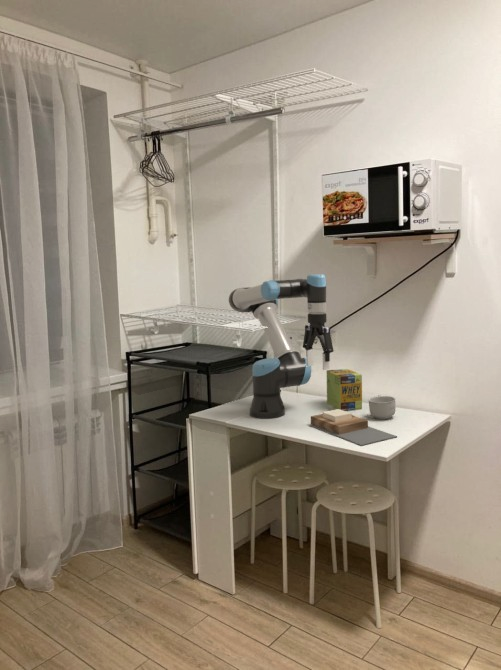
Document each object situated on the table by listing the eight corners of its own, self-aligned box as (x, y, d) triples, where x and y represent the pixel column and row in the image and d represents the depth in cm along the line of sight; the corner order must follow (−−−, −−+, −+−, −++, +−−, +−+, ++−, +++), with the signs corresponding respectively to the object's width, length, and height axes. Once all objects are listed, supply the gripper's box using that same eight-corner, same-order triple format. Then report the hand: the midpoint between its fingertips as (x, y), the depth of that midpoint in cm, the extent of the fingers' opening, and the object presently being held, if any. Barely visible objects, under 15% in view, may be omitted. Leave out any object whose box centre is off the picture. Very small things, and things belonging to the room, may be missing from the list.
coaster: (322, 417, 228) (322, 412, 228) (338, 413, 232) (338, 409, 232) (335, 421, 222) (335, 416, 221) (351, 418, 226) (351, 413, 225)
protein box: (340, 411, 248) (340, 376, 246) (326, 403, 263) (325, 370, 261) (362, 409, 251) (362, 374, 249) (347, 401, 266) (347, 368, 264)
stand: (310, 423, 231) (310, 416, 230) (338, 417, 238) (338, 410, 237) (339, 434, 215) (339, 426, 215) (368, 427, 222) (367, 420, 222)
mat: (310, 426, 228) (310, 425, 228) (344, 419, 237) (344, 418, 237) (361, 446, 203) (361, 444, 203) (397, 437, 211) (397, 436, 211)
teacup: (395, 421, 231) (395, 402, 230) (367, 420, 234) (367, 401, 233) (396, 412, 244) (396, 394, 243) (370, 411, 247) (369, 393, 246)
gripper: (293, 311, 240) (294, 364, 243) (326, 315, 220) (327, 372, 223) (308, 310, 244) (309, 362, 247) (342, 314, 224) (343, 370, 227)
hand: (317, 367), depth 235 cm, fingers open, 10 cm apart
